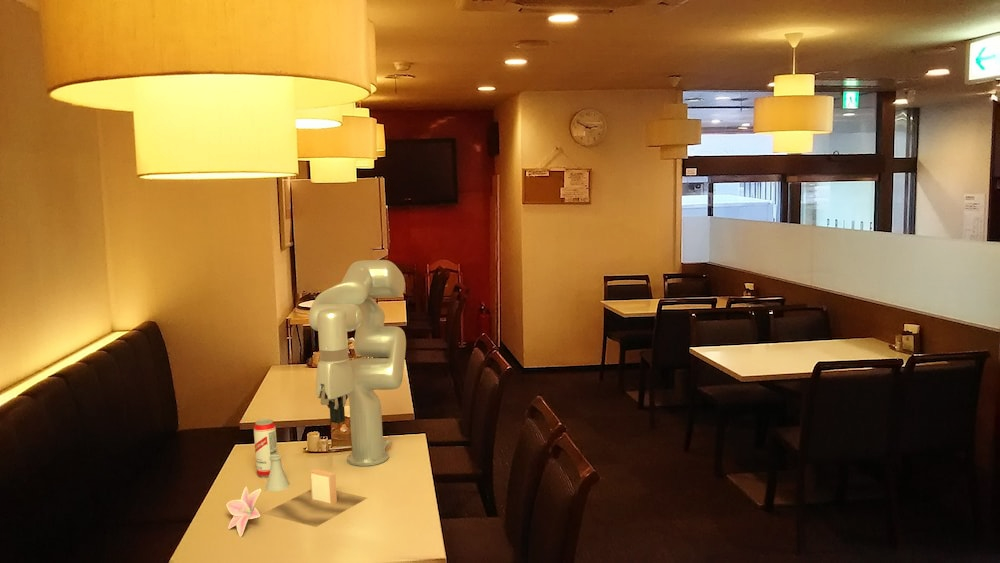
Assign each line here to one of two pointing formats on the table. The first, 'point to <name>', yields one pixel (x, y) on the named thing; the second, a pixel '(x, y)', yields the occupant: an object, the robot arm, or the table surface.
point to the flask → (276, 475)
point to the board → (314, 508)
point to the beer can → (264, 445)
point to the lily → (243, 510)
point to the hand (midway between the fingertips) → (337, 421)
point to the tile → (323, 486)
